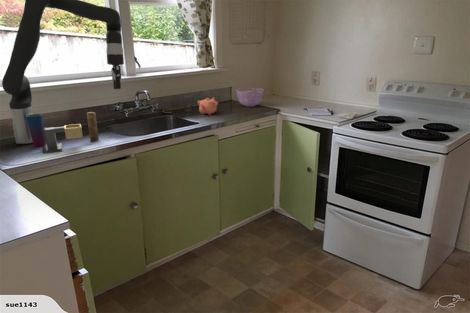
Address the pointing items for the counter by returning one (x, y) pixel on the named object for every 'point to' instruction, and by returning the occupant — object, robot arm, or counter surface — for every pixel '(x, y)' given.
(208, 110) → the orange lumpy ball
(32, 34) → the robot arm
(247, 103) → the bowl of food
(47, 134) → the cup bracket
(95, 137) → the rail post
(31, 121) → the cup
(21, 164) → the counter surface
